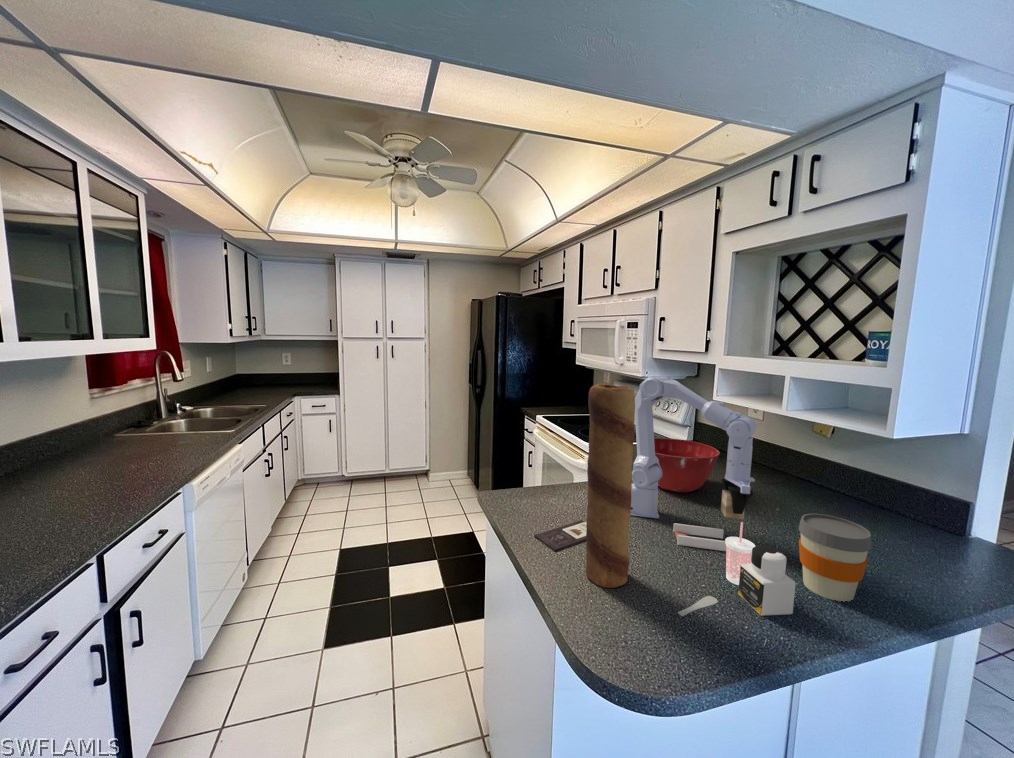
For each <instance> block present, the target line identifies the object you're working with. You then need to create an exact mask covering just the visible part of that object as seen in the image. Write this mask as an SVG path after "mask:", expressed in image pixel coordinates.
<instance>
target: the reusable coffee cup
mask: <svg viewBox="0 0 1014 758" xmlns="http://www.w3.org/2000/svg"><path fill="white" fill-rule="evenodd" d="M798 531H799V533H800V538H799V540H798V548H799V561H800V563H801V564H802V579H803V580H802V582H803V584H804V586H805V587H806V588H807V589H808V590H810V592H812V593H814V594H816V595H818V596H820V597H822V598H825V599H828V600H831V601H835V600H836V601H835V602H841V601H843V602H844V603H846V602H845V601H848V602H851V600H852V601H853V600H854V598H855V595H856V593H857V589H858V585H859V582H861V581H862V580H863V578H864V575H865V572H866V568H867V565H868V562H869V558H868V557H867V556H868V553H869V551H871V549H872V533H871V532H870V530H868V529H867V528H866V527H864V526H862V525H861V524H858V523H856V522H854V521H851V520H850V519H849V520H848V519H846V518H841V517H837V516H835V515H834V516H833V515H829V514H823V513H806V514H803V515H802V516H801V517H800V521H799V525H798ZM843 602H842V603H843Z"/></svg>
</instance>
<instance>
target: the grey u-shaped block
mask: <svg viewBox="0 0 1014 758" xmlns="http://www.w3.org/2000/svg"><path fill="white" fill-rule="evenodd" d="M672 528H673V530H672V532H673V533H674V535H675V538H676V541H677V542H676V544H677V545H678V546H685V547H693V548H699V549H705V550H706V549H708V550H713V551H714V550H715V551H722V552H726V544H725V540H723V539H724V531H725V530H724V529H722V528H716V527H707V526H699V525H692V524H685V523H684V524H683V523H676V522H675V523H673V527H672ZM688 535H693V536H688ZM696 536H697V537H696ZM698 536H699V537H698ZM704 537H705V538H704ZM712 538H716V539H712ZM719 539H722V540H719Z"/></svg>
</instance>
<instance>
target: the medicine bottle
mask: <svg viewBox="0 0 1014 758" xmlns="http://www.w3.org/2000/svg"><path fill="white" fill-rule="evenodd" d="M786 568H787V556H786V555H785V553H783V551H780V550H779V549H777V548H775V547H772V546H767V545H755V547H754V548H753V549H752V557H751V564H741V567H740V579H739V585H738V591H737V592H738V595H739V596H740V597H741V598H742V599H743V600H744V601H745V602H746V603H747V604H748V605H749V606H750V607H751V608H752V609H754V611H756V613H758V614H759V616H760V617H761V616H764V617H765V616H784V615H785V616H786V615H793V613H794V605H795V603H794V602H795V593H796V591H795V590H796V581H795V580H794V579H792V578H791V577H790V576H788V575H787V574H786V571H787V570H786Z"/></svg>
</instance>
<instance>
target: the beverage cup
mask: <svg viewBox="0 0 1014 758" xmlns="http://www.w3.org/2000/svg"><path fill="white" fill-rule="evenodd" d="M743 528H744V521H741V522H740V528H739V529H740V530H739V537H738V536H727V537H725V540H724V541H725V544H726V551H725V554H726V555H725V562H726V563H725V577H726V579H727V581H729V582H730V583H732V584H733V585H737V586H739V579H740V567H741V564H751V557H752V549H753V548H754V547H755V546H756V545H755V543H753V542H752V541H751V540H748V539H746V538H743V530H744V529H743Z"/></svg>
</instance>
